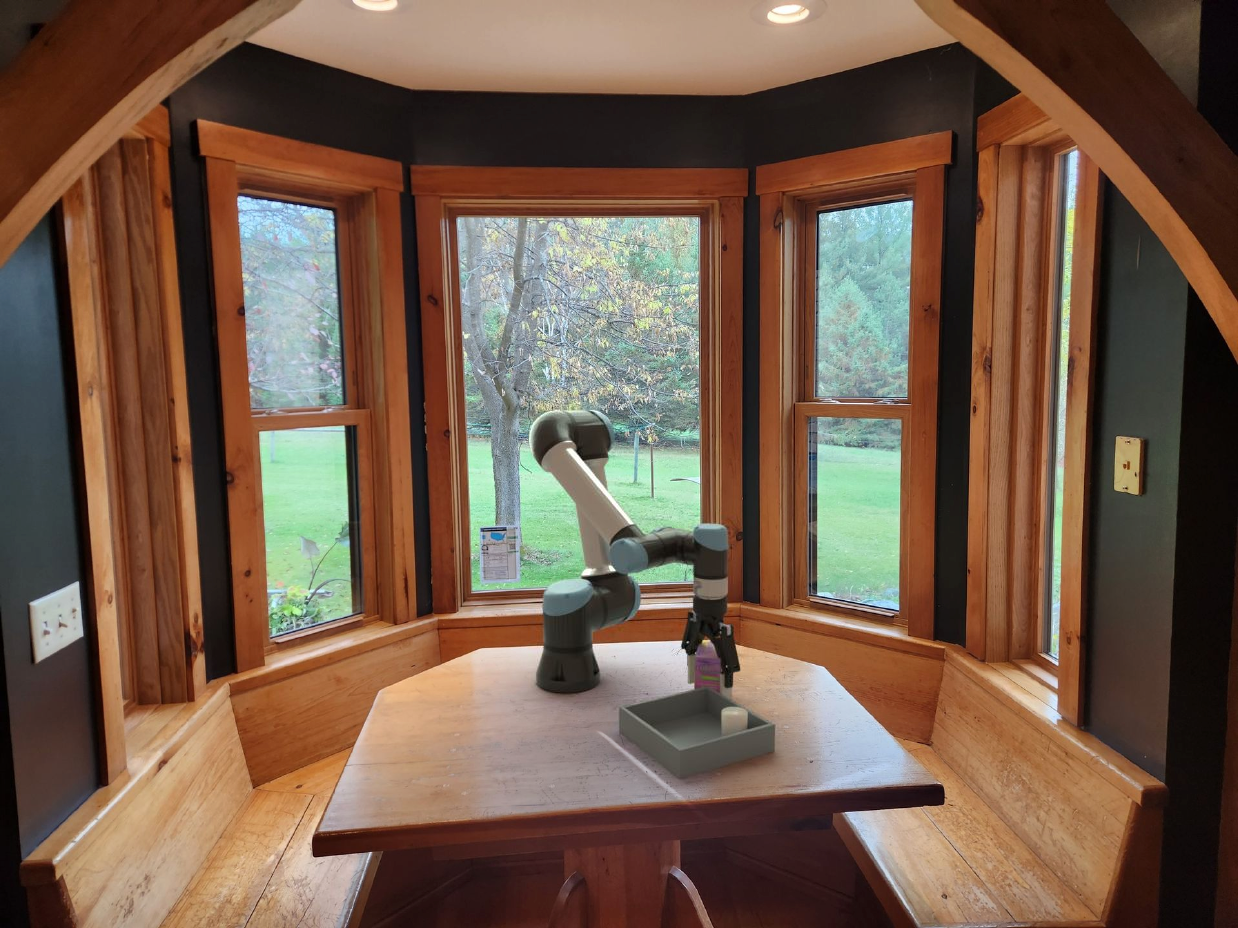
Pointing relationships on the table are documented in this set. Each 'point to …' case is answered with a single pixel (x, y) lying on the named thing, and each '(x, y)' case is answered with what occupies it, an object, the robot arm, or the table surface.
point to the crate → (693, 732)
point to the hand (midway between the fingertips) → (709, 691)
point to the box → (707, 667)
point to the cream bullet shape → (733, 720)
